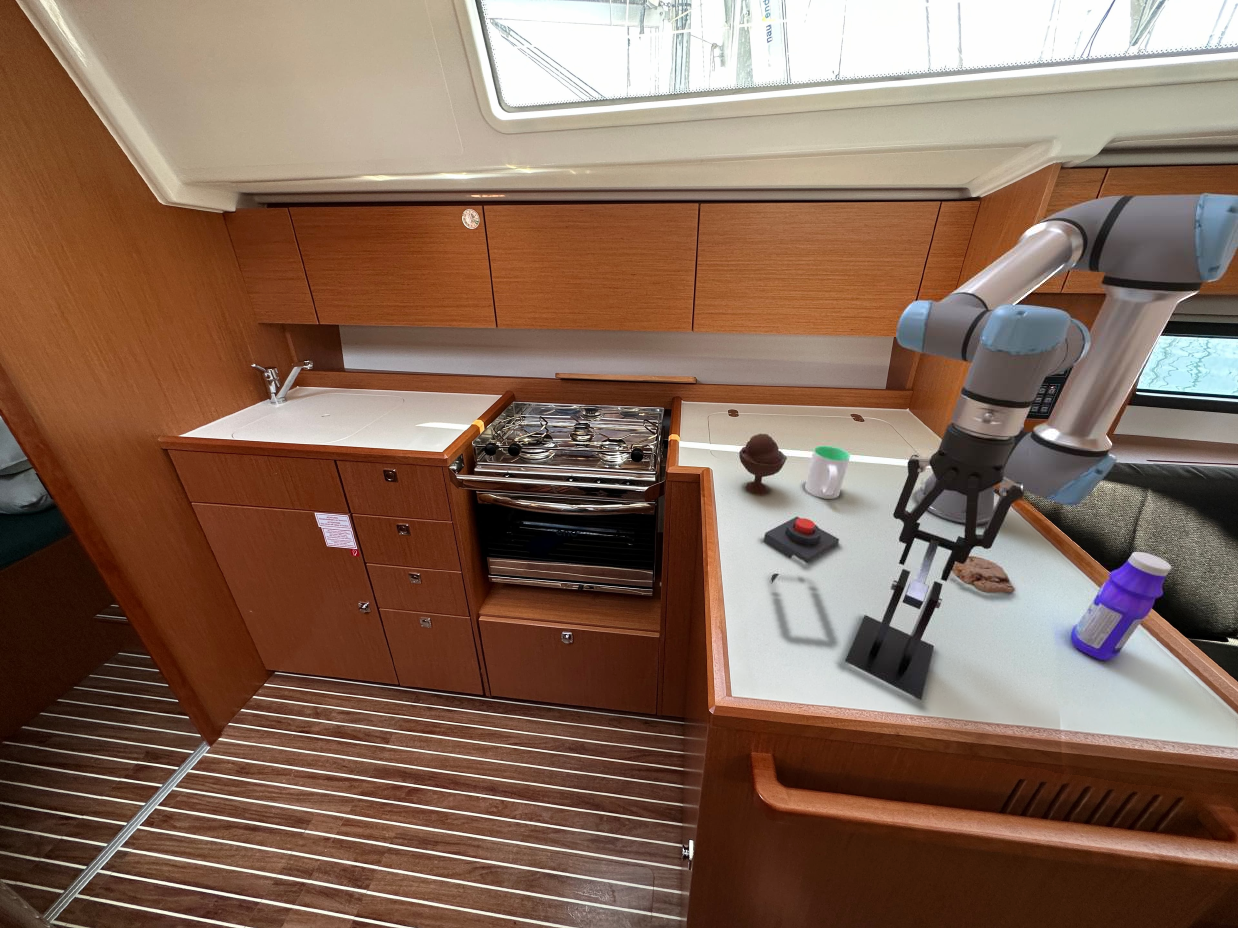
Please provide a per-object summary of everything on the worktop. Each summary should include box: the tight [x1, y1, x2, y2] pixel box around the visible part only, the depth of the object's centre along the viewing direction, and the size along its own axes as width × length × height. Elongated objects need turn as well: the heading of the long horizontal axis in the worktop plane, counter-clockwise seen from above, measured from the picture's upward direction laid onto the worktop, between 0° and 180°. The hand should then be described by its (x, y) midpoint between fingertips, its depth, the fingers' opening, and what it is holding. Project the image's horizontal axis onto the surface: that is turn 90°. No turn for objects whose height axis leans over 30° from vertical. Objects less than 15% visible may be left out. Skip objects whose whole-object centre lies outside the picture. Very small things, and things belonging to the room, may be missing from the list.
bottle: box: [1070, 551, 1172, 661], centre depth 71 cm, size 7×6×17 cm
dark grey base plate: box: [763, 516, 840, 563], centre depth 96 cm, size 11×10×4 cm
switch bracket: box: [844, 568, 943, 701], centre depth 68 cm, size 12×10×15 cm
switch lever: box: [902, 528, 956, 610], centre depth 68 cm, size 12×5×2 cm, turn 142°
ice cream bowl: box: [738, 433, 788, 495], centre depth 113 cm, size 11×11×15 cm
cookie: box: [951, 555, 1016, 594], centre depth 88 cm, size 10×11×3 cm
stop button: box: [794, 517, 816, 535], centre depth 95 cm, size 4×4×2 cm
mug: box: [804, 445, 851, 500], centre depth 113 cm, size 12×8×10 cm
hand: (923, 567), depth 73 cm, fingers closed on switch lever, 5 cm apart
